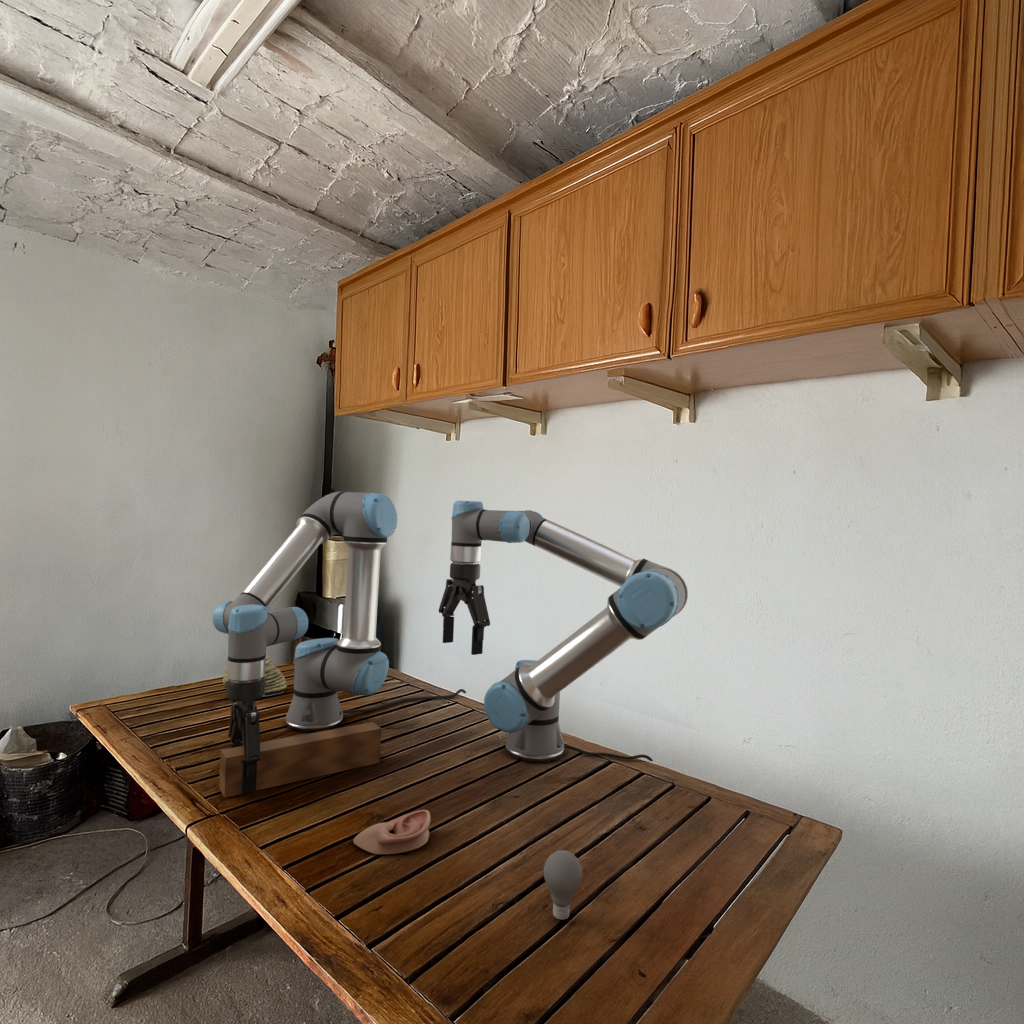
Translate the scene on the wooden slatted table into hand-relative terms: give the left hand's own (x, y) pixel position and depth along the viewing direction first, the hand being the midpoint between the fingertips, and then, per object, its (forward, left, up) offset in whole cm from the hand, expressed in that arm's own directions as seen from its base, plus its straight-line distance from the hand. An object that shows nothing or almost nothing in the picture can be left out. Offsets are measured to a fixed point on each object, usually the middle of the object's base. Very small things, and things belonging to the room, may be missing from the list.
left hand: (242, 781), depth 136 cm
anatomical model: (-9, +39, -1) cm, 40 cm away
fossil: (-34, -57, -1) cm, 66 cm away
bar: (-13, +3, -1) cm, 13 cm away
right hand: (-45, +21, +26) cm, 56 cm away
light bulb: (-12, +75, -1) cm, 76 cm away
